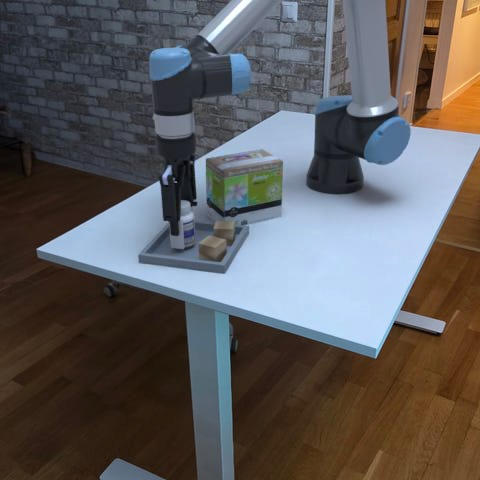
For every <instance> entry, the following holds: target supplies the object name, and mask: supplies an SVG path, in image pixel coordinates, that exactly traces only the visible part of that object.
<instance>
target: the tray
mask: <svg viewBox="0 0 480 480" xmlns="http://www.w3.org/2000/svg"><path fill="white" fill-rule="evenodd" d="M194 222H195V237H196V241H195V243H194V244H193V245H192V246H189V247H185V248H184V249H177V248H171V241H170V229H169V221H167V223H166V224H165V225H164V226H163V227H162V228H161V229H160V230H159V232H158V233H157V234H156V235H154V236H153V238H152V239H151V240H150V241H149V242H148V244H147V245H146V246H145V247H144V248H143V249H142V250H141V251H140V252H139V253H138V254H137V258H138V263H139V264H143V265H144V264H145V265H153V266H162V267H163V266H164V267H168V268H177V269H185V270H192V271H200V272H208V273H215V274H223V275H225V274H226V273H227V272H228V269H229V267H230V266H231V264H232V262H233V261H234V260H235V258H236V256H237V254H238V252H239V251H240V250H241V248H242V246H243V245H244V242H245V241H246V240H247V238H248V237H249V235H250V225H245V226H242V225H235V241H234V243H233V244H232V246H226V249H227V254H226V255H225V257H224V258H223V260H222V261H221V262H213V261H205V260H199V247H198V243H199V242H201V241H202V240H204V239H205V238H206V237H208V236H209V235H210V236H214V226H215V223H216V222H215V221H205V220H204V221H202V220H195V219H194Z"/></svg>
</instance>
